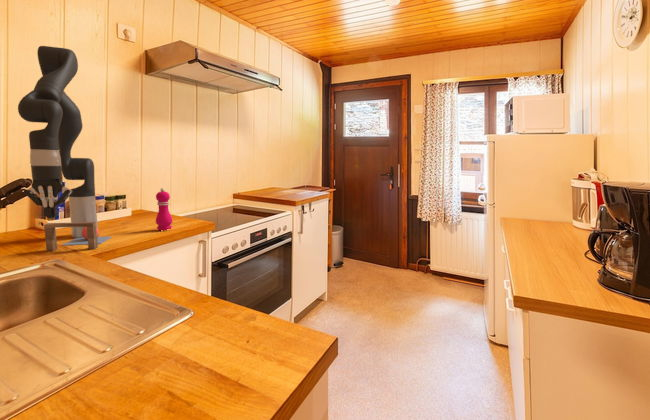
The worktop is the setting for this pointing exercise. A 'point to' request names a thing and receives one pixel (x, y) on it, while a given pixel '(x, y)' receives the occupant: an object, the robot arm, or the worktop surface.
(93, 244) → the bridge
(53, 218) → the robot arm
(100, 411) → the worktop surface
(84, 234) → the ball
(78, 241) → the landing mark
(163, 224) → the pepper mill
